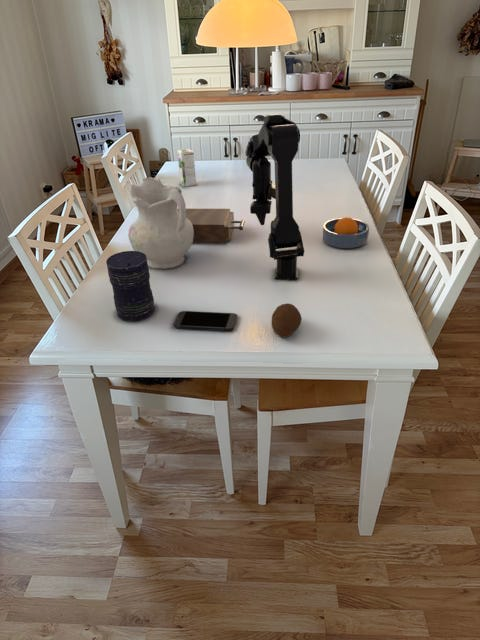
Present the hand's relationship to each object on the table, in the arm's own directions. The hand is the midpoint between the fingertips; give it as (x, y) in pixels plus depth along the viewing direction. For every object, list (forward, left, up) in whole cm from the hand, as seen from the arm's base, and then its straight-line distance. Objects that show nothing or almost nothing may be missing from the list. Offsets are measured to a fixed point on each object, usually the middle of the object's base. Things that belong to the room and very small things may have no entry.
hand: (262, 224), depth 161 cm
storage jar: (-50, +29, -4) cm, 58 cm away
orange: (-4, -27, -3) cm, 27 cm away
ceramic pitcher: (-21, +28, -4) cm, 35 cm away
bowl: (-4, -27, -4) cm, 27 cm away
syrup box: (+55, +37, -4) cm, 66 cm away
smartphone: (-54, +10, -4) cm, 55 cm away
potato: (-56, -10, -4) cm, 57 cm away
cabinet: (0, +21, -4) cm, 21 cm away
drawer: (0, +17, -3) cm, 17 cm away
